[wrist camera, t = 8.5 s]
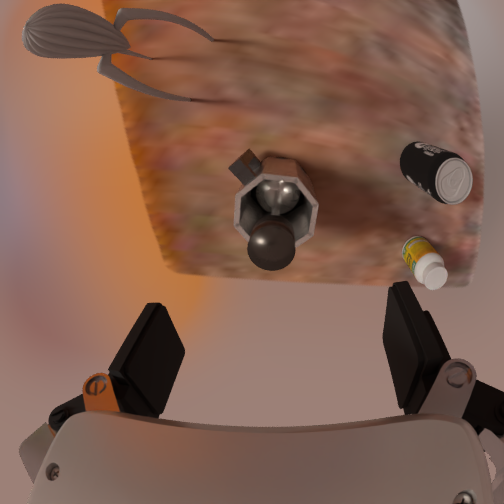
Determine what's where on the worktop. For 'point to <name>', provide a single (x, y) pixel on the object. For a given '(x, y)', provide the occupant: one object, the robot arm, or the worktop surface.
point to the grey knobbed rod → (274, 226)
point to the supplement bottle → (424, 262)
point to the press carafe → (279, 170)
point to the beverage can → (437, 172)
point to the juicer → (93, 38)
